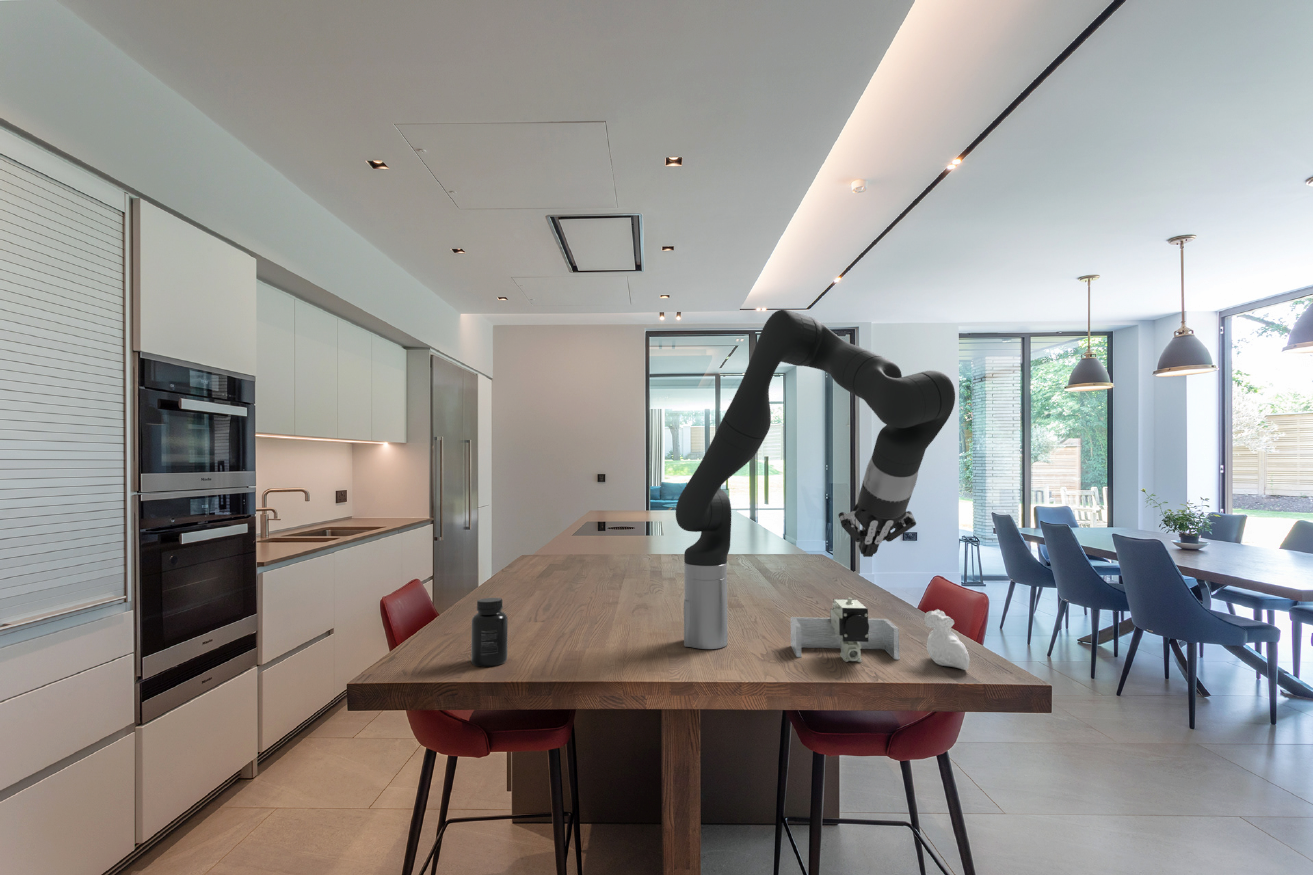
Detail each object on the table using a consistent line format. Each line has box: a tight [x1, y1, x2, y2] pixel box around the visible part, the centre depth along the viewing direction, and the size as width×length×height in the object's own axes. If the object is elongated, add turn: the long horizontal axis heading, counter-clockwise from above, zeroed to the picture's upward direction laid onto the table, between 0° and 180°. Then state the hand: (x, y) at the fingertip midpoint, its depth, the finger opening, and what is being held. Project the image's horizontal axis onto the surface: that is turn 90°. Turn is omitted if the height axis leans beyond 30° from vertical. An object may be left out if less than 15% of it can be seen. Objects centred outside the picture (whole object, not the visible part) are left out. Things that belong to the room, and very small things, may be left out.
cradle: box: [790, 616, 901, 661], centre depth 124 cm, size 20×8×6 cm, turn 85°
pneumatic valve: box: [829, 597, 869, 663], centre depth 120 cm, size 6×12×12 cm, turn 175°
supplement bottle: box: [470, 597, 509, 668], centre depth 118 cm, size 7×7×12 cm
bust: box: [923, 608, 971, 671], centre depth 117 cm, size 12×8×11 cm
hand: (866, 552), depth 107 cm, fingers closed
